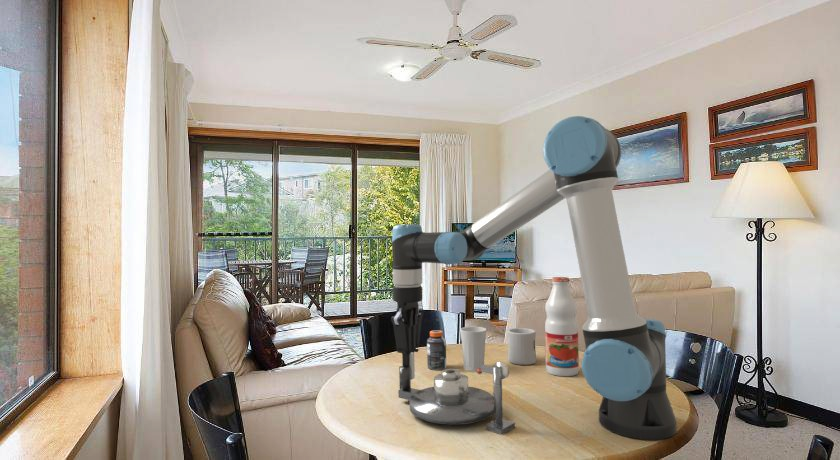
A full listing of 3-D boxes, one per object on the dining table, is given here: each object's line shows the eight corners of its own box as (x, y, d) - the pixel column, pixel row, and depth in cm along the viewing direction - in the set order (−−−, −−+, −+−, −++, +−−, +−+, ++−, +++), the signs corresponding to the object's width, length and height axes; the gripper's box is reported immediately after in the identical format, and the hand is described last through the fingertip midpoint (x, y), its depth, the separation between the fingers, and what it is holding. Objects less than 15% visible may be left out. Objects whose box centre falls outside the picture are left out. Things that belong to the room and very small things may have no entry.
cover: (474, 397, 111) (474, 369, 111) (457, 408, 105) (456, 378, 105) (445, 391, 116) (445, 364, 116) (427, 401, 109) (427, 372, 109)
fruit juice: (572, 367, 144) (570, 275, 144) (583, 376, 135) (582, 278, 135) (541, 368, 144) (540, 276, 144) (551, 377, 135) (549, 279, 135)
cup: (486, 372, 140) (485, 332, 140) (459, 371, 142) (458, 331, 142) (487, 365, 148) (487, 326, 148) (462, 364, 150) (461, 326, 150)
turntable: (509, 401, 113) (508, 371, 113) (470, 431, 96) (470, 396, 96) (422, 384, 127) (422, 357, 127) (375, 408, 110) (375, 377, 110)
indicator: (514, 427, 101) (513, 363, 101) (501, 434, 98) (500, 368, 98) (485, 417, 107) (484, 356, 107) (471, 424, 103) (470, 361, 103)
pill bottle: (449, 366, 147) (449, 330, 147) (440, 371, 142) (439, 333, 142) (433, 363, 150) (432, 328, 150) (423, 368, 145) (423, 331, 145)
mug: (539, 365, 147) (539, 333, 147) (510, 366, 147) (509, 333, 147) (530, 355, 159) (530, 325, 159) (503, 355, 159) (503, 325, 159)
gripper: (407, 281, 127) (408, 369, 127) (381, 287, 115) (382, 383, 116) (432, 283, 123) (433, 373, 124) (408, 289, 112) (409, 388, 112)
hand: (408, 378), depth 120 cm, fingers closed
